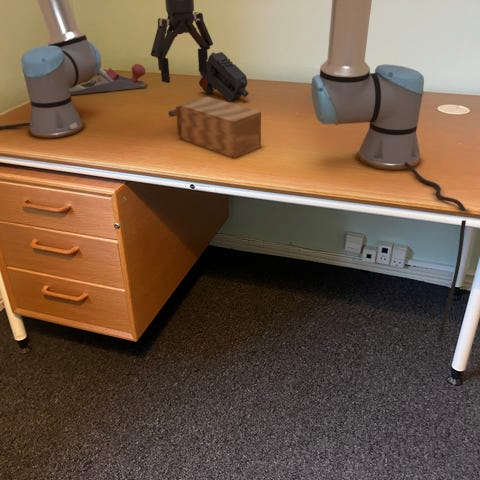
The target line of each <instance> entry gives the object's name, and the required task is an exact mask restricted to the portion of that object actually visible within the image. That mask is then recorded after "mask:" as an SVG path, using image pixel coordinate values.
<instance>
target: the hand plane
mask: <svg viewBox="0 0 480 480" xmlns="http://www.w3.org/2000/svg"><path fill="white" fill-rule="evenodd" d="M131 73H132V76H131V78H130V77H126V76H123V75H120V74H119V73H117V72H116V71H114V70H113V69H112V68H111V67H109V68H108V70H107V71H105V70H104V69H103V68H102V67H101V68H100V70H99V72H98V74H97V75H96V77H97V78H95V79H94V78H92V79H91V80H89V81H88V82H84V83H81V84H79V85H77V86H75V87H72V88H70V94H71V96H74V95H84V94H94V93H104V92H112V91H113V92H114V91H121V90H132V89H142V88H146V83H145V81H143V80H139V78H142V77H144V76H145V75H146V68H145V66H143V65H141V64H139V63H134V64H133V65H132V66H131Z"/></svg>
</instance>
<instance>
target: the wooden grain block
mask: <svg viewBox="0 0 480 480" xmlns="http://www.w3.org/2000/svg"><path fill="white" fill-rule="evenodd" d="M178 105H179V111H180V123H181V134H180V135H181V140H183V141H186V142H189V143H191V144H195V145H196V146H197V145H198V146H199V147H203V148H207V149H209V150H211V151H214V152H217V153H220V154H222V155H225V156H227V157H230V158H234V159H237V158H239V157H241V156H243V155H245V154H248V153H250V152H252V151H256V150H257V149H259V148H261V147H262V111H260V110H256V109H254V108H249V107H246V106H241V105H239V104H234V103H231V102H229V101H223V100H220V99H216V98H214V97H210V96H204V97H203V96H202V97H200V98H197V99H193V100H190V101H187V102H184V103H182V104H178Z"/></svg>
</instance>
